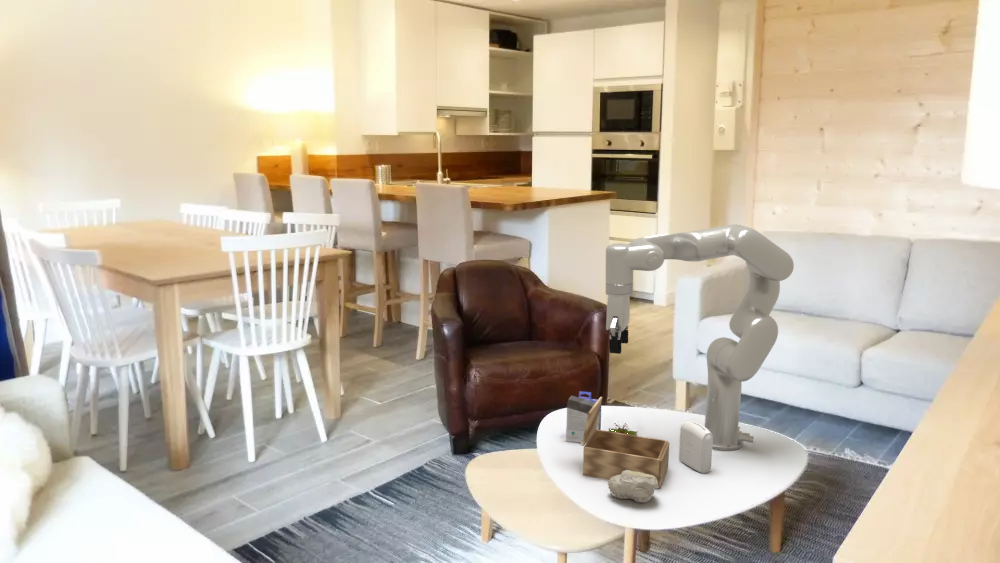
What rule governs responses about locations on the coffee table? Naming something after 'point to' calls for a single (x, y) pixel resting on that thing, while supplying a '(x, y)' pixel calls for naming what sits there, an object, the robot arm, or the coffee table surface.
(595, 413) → the flap
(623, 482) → the fossil replica
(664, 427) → the coffee table surface
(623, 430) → the lily flower
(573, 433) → the ink cartridge box
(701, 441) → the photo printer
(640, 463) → the open wooden box
